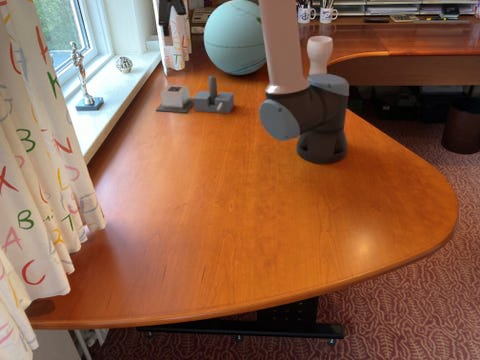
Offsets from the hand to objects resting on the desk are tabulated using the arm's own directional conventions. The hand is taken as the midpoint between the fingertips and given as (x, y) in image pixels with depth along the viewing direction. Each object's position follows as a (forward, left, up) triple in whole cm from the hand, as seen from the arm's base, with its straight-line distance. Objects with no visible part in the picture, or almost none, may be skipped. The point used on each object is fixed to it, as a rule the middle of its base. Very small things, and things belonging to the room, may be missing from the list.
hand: (176, 40), depth 140 cm
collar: (-2, +2, -23) cm, 24 cm away
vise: (-4, -13, -24) cm, 28 cm away
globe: (+36, -14, -24) cm, 46 cm away
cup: (+38, -48, -24) cm, 66 cm away
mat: (-2, +2, -24) cm, 24 cm away
